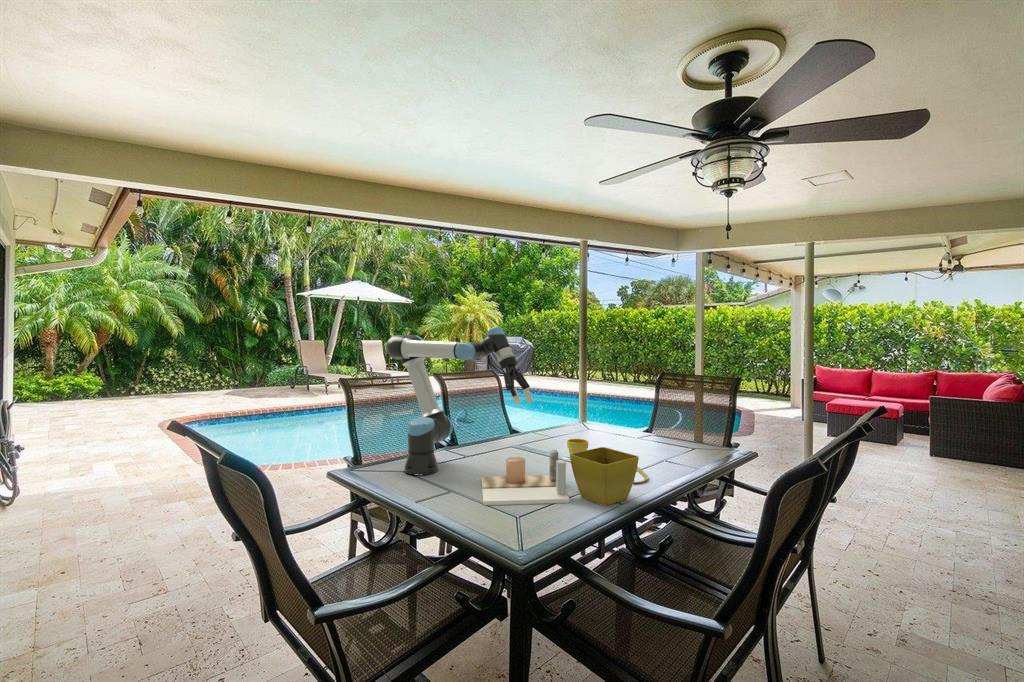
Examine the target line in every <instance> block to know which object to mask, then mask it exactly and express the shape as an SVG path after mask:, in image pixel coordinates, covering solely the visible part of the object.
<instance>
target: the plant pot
mask: <svg viewBox="0 0 1024 682" xmlns="http://www.w3.org/2000/svg"><path fill="white" fill-rule="evenodd" d="M566 448H568V452H569V455H570V454H572V453H576V452H581V451H585V450H588V449H589V441H588V440H587V439H585V438H583V439H582V438H569V439H567V441H566Z"/></svg>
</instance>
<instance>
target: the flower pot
mask: <svg viewBox="0 0 1024 682" xmlns="http://www.w3.org/2000/svg"><path fill="white" fill-rule="evenodd" d="M569 457H570V459H569V460H570V464H571V468H572V469H571V470H572V473H573V474H572V475H573V476H574V480H575V482H576V483H575V484H576V486H577V490H578V493H579V494H580V496H581V498H582V497H583V498H582V499H585V498H586V499H585V500H587V499H588V500H587V501H590V502H592V501H593V503H595V502H596V503H595V504H597V503H598V505H600V504H601V505H600V506H602V505H603V506H604V507H606V505H607V506H610V505H614V504H617V503H620V502H623V501H626V500H627V499H628V498H629V495H630V492H631V490H632V487H633V485H634V484H633V482H635V478H636V474H637V471H636V470H637V466H638V465H639V460H640V459H639V458H640V457H639V455H636V454H631V453H628V452H626V451H625V452H624V451H621V450H617V449H614V448H613V449H612V448H609V447H605V446H601V447H595V448H591V449H587V450H585V451H581V452H576V453H572V454H569ZM619 501H620V502H619ZM616 502H617V503H616ZM613 503H614V504H613Z"/></svg>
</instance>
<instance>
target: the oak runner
mask: <svg viewBox="0 0 1024 682" xmlns="http://www.w3.org/2000/svg"><path fill="white" fill-rule="evenodd" d="M556 460H559V451H558V450H556V449H554V450H553V449H552V450H549V474H544V475H542V474H541V475H540V474H539V475H525V482H524V483H521V484H510V483H507V482H506V475H502V476H501V475H499V476H481V481H480V482H481V490H482V489H498V488H536V487H556Z"/></svg>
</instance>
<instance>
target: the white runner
mask: <svg viewBox="0 0 1024 682" xmlns="http://www.w3.org/2000/svg"><path fill="white" fill-rule="evenodd" d="M566 467H567V462H566V461H565V460H563V459H558V460H556V487H536V488H498V489H482V488H481V492H482V493H481V494H482V506H502V505H503V506H504V505H505V506H506V505H507V506H508V505H535V504H537V505H539V504H540V505H542V504H544V505H545V503H546V504H570V503H571V499H570V497H569V496H568V493H567V492H566V489H567V488H566V487H567V481H566V480H567V479H566V478H567V469H566Z"/></svg>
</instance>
